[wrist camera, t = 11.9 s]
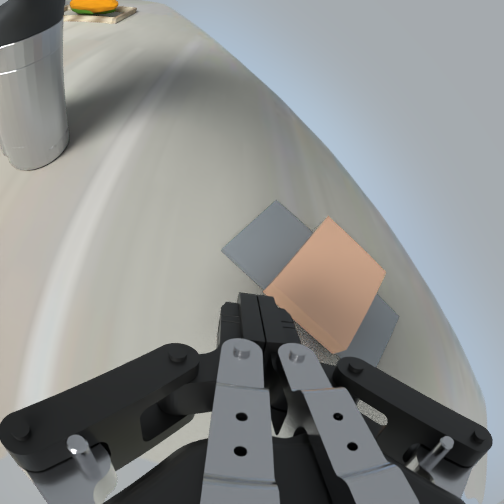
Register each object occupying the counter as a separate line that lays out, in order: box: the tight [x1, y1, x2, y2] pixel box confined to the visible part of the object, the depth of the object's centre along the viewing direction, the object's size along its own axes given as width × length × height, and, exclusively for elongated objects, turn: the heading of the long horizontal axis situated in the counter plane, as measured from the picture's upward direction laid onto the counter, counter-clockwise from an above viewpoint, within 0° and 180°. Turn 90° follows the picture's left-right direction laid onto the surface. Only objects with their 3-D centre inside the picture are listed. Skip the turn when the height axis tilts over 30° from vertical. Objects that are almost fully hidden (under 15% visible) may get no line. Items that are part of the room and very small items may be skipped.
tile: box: [263, 216, 386, 354], centre depth 32 cm, size 10×3×12 cm
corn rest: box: [63, 5, 137, 24], centre depth 48 cm, size 25×11×2 cm, turn 81°
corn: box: [70, 0, 118, 15], centre depth 45 cm, size 7×8×20 cm
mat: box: [221, 200, 399, 367], centre depth 33 cm, size 22×10×1 cm, turn 51°
